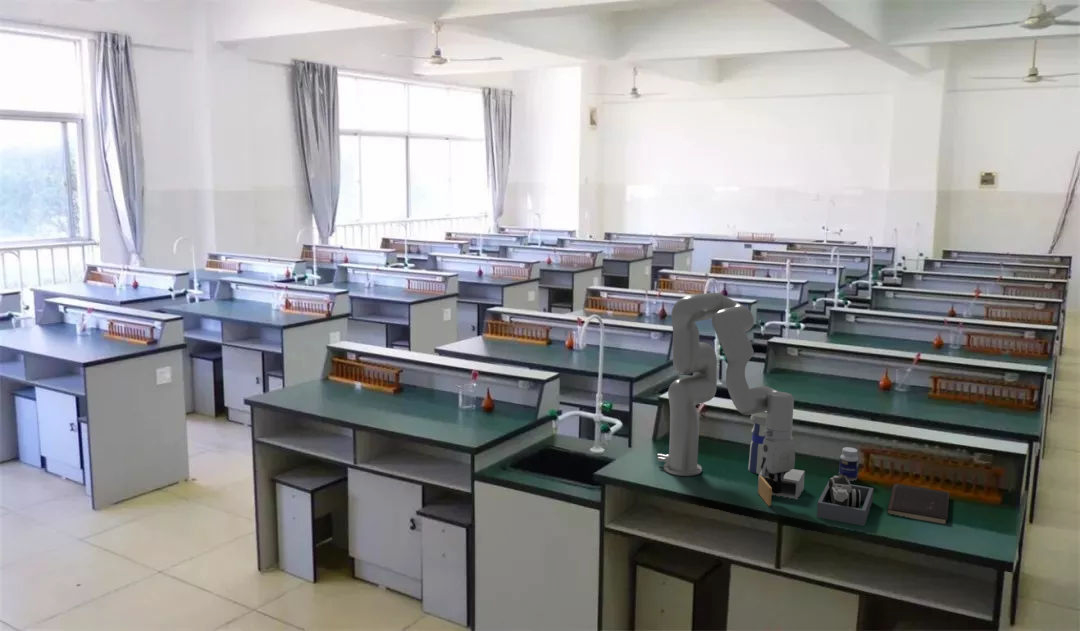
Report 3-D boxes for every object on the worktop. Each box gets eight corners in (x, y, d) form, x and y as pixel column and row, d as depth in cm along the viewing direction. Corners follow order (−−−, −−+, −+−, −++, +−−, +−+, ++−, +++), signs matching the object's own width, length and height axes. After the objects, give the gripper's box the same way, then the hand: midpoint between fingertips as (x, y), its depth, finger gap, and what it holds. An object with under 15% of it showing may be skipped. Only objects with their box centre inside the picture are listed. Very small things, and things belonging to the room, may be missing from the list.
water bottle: (779, 471, 282) (783, 398, 278) (761, 476, 278) (765, 402, 273) (759, 464, 289) (763, 393, 285) (742, 468, 284) (746, 396, 280)
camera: (863, 522, 241) (865, 489, 240) (831, 519, 243) (834, 486, 241) (855, 502, 257) (857, 470, 255) (825, 499, 258) (827, 468, 257)
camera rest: (816, 517, 245) (817, 502, 244) (827, 494, 262) (828, 480, 261) (864, 525, 239) (865, 510, 238) (872, 502, 256) (873, 488, 255)
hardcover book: (948, 499, 261) (949, 492, 260) (946, 526, 240) (947, 518, 240) (892, 490, 268) (893, 483, 267) (886, 515, 247) (887, 508, 247)
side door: (757, 492, 263) (758, 475, 262) (760, 492, 263) (761, 475, 262) (767, 505, 252) (768, 487, 251) (771, 505, 252) (772, 487, 251)
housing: (758, 492, 263) (759, 474, 262) (765, 482, 272) (766, 464, 271) (797, 499, 258) (798, 480, 257) (803, 489, 266) (804, 470, 265)
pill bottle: (838, 480, 275) (840, 450, 273) (839, 474, 280) (841, 445, 278) (856, 482, 273) (859, 453, 271) (857, 476, 278) (859, 447, 276)
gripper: (768, 440, 245) (765, 500, 248) (806, 433, 252) (802, 492, 255) (750, 433, 251) (747, 492, 254) (788, 426, 258) (784, 484, 261)
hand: (775, 491), depth 255 cm, fingers closed
